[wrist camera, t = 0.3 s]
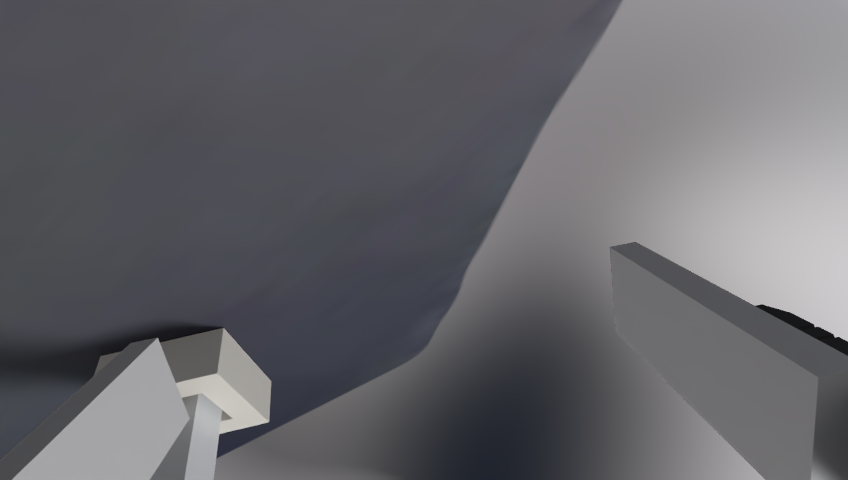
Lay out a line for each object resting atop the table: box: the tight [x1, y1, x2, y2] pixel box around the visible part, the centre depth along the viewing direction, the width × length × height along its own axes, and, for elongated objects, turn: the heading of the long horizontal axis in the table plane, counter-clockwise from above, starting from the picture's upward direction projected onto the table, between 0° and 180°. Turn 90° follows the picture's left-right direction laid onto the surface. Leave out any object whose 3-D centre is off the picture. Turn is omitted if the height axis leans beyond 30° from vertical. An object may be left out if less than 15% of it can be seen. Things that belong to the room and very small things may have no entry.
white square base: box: [94, 328, 271, 434], centre depth 39 cm, size 10×10×4 cm
